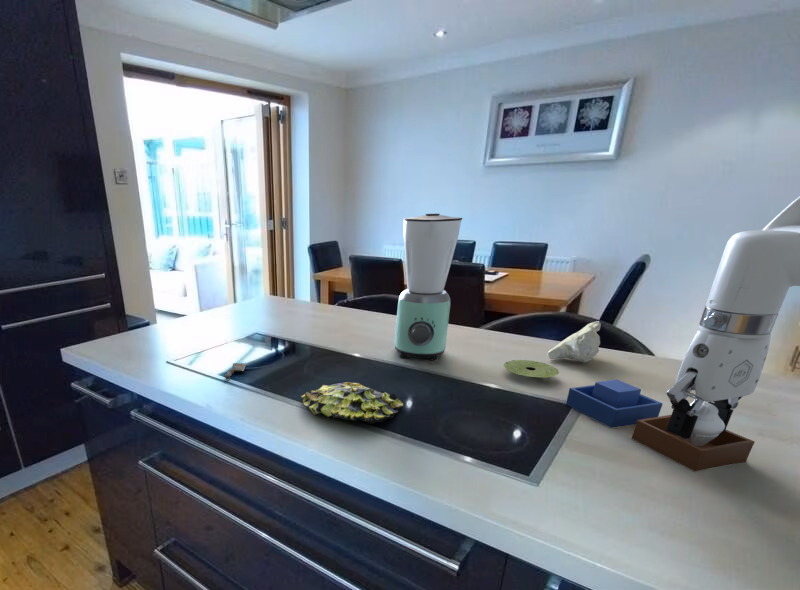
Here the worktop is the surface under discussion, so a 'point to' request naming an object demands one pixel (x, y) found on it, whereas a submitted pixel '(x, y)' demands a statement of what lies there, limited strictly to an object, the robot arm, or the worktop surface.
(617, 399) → the blue block
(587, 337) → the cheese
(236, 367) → the meat cleaver
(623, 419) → the blue bin
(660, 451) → the brown bin
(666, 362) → the worktop surface
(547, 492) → the worktop surface
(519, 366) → the green disc
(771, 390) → the worktop surface
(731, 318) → the robot arm
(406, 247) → the blender
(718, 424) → the muffin
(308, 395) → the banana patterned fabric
